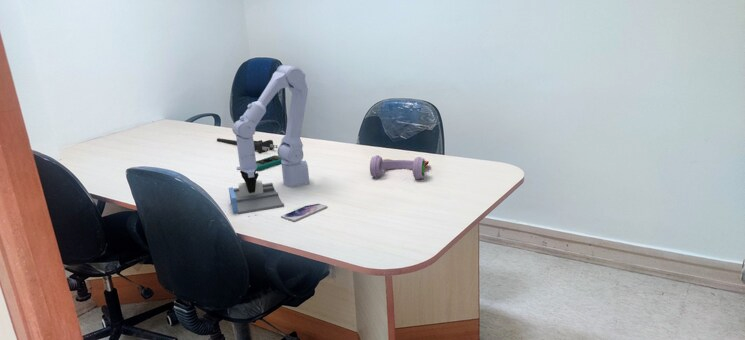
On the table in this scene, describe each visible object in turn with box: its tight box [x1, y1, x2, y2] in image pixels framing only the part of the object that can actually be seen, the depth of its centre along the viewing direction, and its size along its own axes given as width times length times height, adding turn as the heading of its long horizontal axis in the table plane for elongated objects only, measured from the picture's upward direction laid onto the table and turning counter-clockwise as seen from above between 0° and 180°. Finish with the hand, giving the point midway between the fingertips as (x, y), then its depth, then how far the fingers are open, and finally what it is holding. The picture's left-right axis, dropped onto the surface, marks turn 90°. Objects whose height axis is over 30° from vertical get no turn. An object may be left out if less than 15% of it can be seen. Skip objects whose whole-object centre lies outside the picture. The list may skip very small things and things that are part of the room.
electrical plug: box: [216, 137, 279, 154], centre depth 260 cm, size 9×42×5 cm, turn 51°
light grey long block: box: [238, 179, 275, 197], centre depth 195 cm, size 12×3×4 cm, turn 109°
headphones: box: [369, 154, 430, 181], centre depth 212 cm, size 20×10×20 cm
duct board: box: [228, 182, 285, 215], centre depth 190 cm, size 16×24×6 cm
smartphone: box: [280, 203, 329, 223], centre depth 179 cm, size 7×1×15 cm
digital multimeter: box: [256, 154, 282, 172], centre depth 230 cm, size 7×15×3 cm, turn 139°
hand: (251, 190), depth 195 cm, fingers closed on light grey long block, 3 cm apart
